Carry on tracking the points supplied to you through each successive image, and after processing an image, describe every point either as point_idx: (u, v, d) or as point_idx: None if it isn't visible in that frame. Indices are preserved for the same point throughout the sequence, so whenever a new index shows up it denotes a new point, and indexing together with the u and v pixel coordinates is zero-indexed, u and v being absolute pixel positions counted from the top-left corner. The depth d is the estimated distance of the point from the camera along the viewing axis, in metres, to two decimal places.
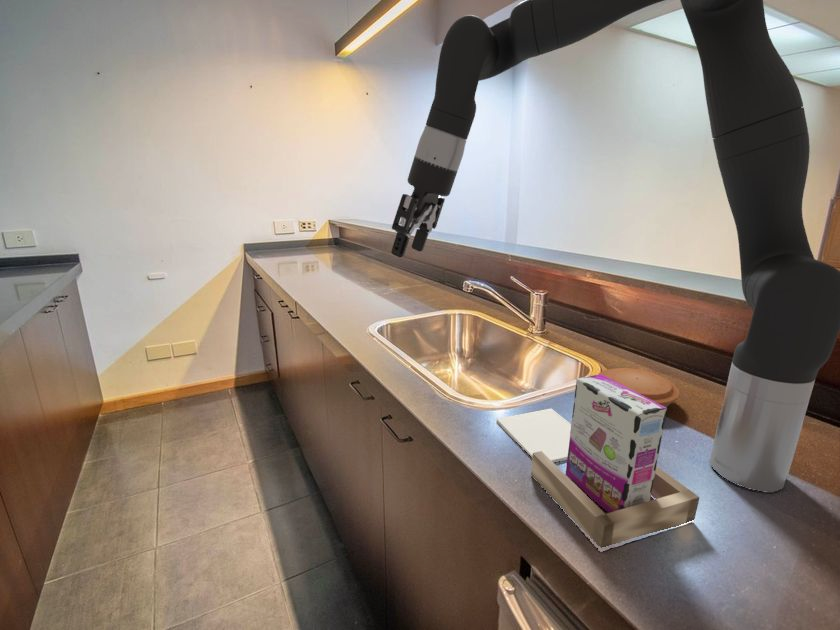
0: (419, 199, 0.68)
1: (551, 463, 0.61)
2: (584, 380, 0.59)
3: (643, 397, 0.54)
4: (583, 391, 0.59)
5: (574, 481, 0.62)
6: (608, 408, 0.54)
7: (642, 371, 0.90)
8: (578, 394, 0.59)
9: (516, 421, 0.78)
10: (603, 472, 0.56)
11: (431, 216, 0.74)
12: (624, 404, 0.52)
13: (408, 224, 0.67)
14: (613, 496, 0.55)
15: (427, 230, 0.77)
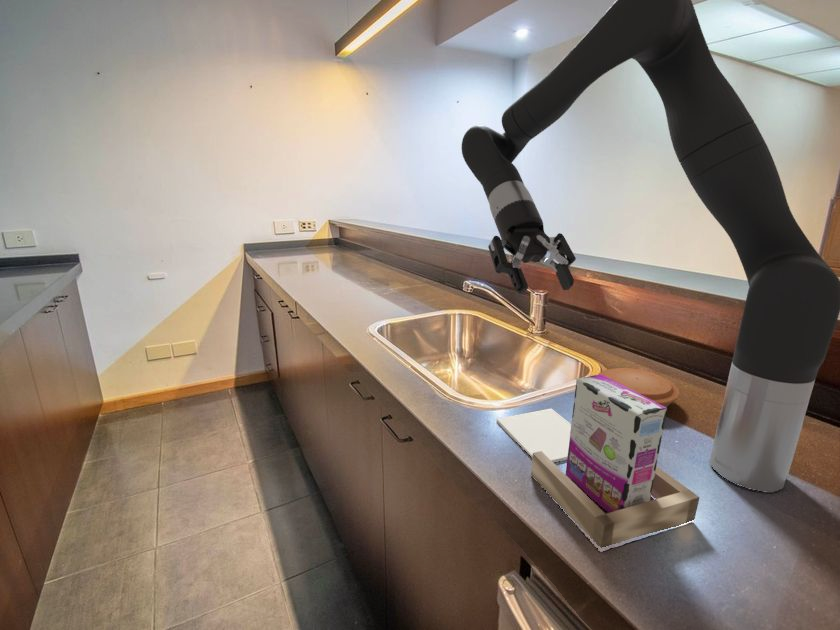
0: (506, 238, 0.71)
1: (551, 463, 0.61)
2: (584, 380, 0.59)
3: (643, 397, 0.54)
4: (583, 391, 0.59)
5: (574, 481, 0.62)
6: (609, 409, 0.54)
7: (642, 371, 0.90)
8: (578, 394, 0.59)
9: (516, 421, 0.78)
10: (603, 472, 0.56)
11: (545, 247, 0.71)
12: (624, 404, 0.52)
13: (501, 256, 0.68)
14: (613, 496, 0.55)
15: (561, 264, 0.71)
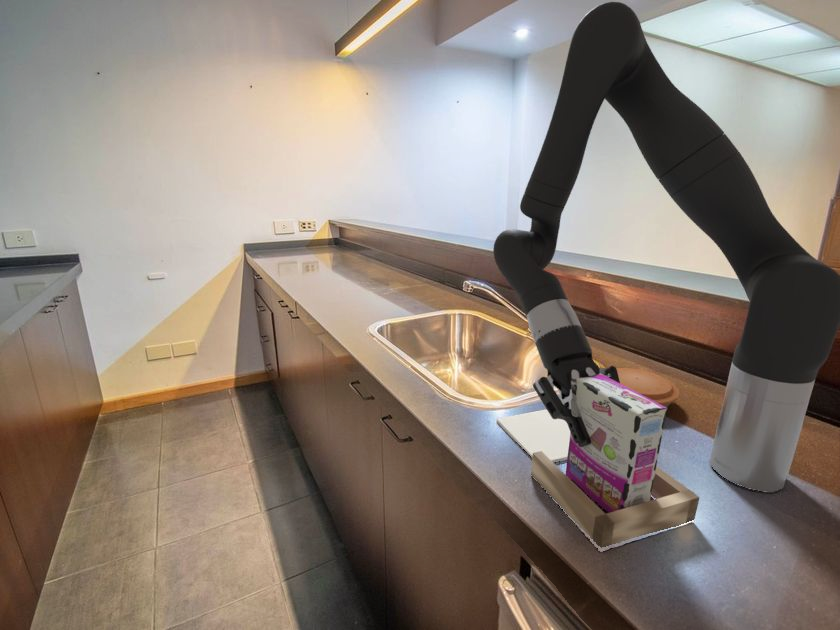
0: (552, 374, 0.62)
1: (551, 463, 0.61)
2: (584, 380, 0.59)
3: (643, 397, 0.54)
4: (583, 391, 0.58)
5: (574, 481, 0.62)
6: (609, 408, 0.54)
7: (642, 371, 0.90)
8: (578, 394, 0.59)
9: (516, 421, 0.78)
10: (603, 472, 0.56)
11: None
12: (624, 404, 0.52)
13: (557, 403, 0.59)
14: (613, 495, 0.55)
15: None
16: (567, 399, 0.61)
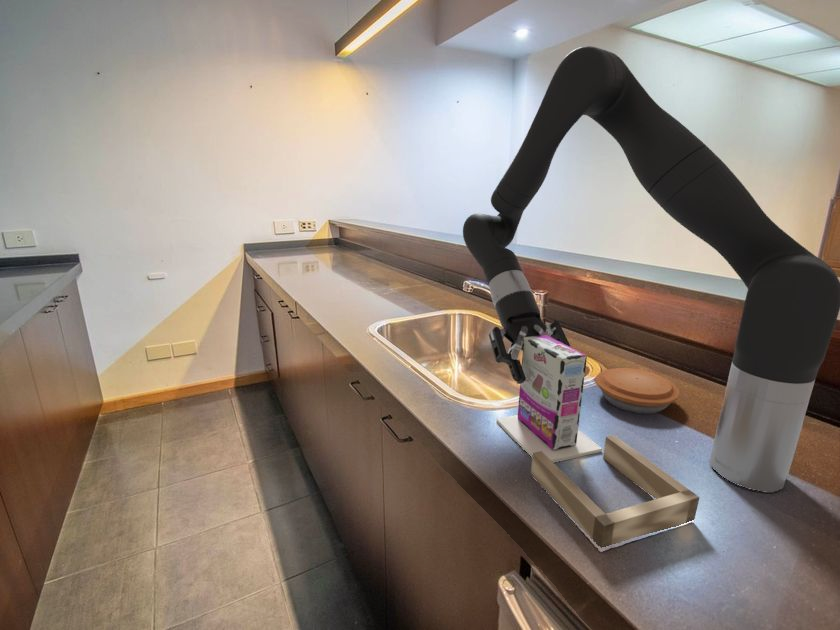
0: (506, 328, 0.76)
1: (551, 463, 0.61)
2: (529, 338, 0.74)
3: (571, 348, 0.68)
4: (527, 346, 0.73)
5: (523, 421, 0.77)
6: (544, 358, 0.69)
7: (642, 371, 0.90)
8: (525, 349, 0.74)
9: (516, 421, 0.78)
10: (541, 409, 0.71)
11: None
12: (554, 353, 0.67)
13: (501, 348, 0.73)
14: (548, 427, 0.70)
15: None
16: (512, 347, 0.75)
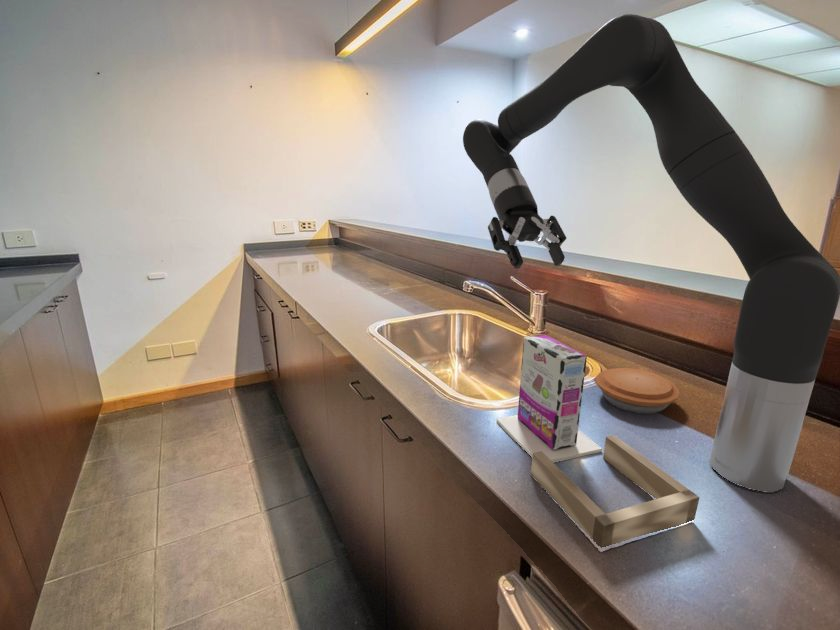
0: (504, 219, 0.79)
1: (551, 463, 0.61)
2: (529, 338, 0.73)
3: (571, 348, 0.68)
4: (527, 346, 0.73)
5: (523, 421, 0.77)
6: (544, 358, 0.69)
7: (642, 371, 0.90)
8: (525, 349, 0.74)
9: (516, 421, 0.78)
10: (541, 409, 0.71)
11: (538, 227, 0.79)
12: (554, 353, 0.67)
13: (499, 234, 0.76)
14: (548, 427, 0.70)
15: (553, 242, 0.79)
16: (510, 236, 0.78)
